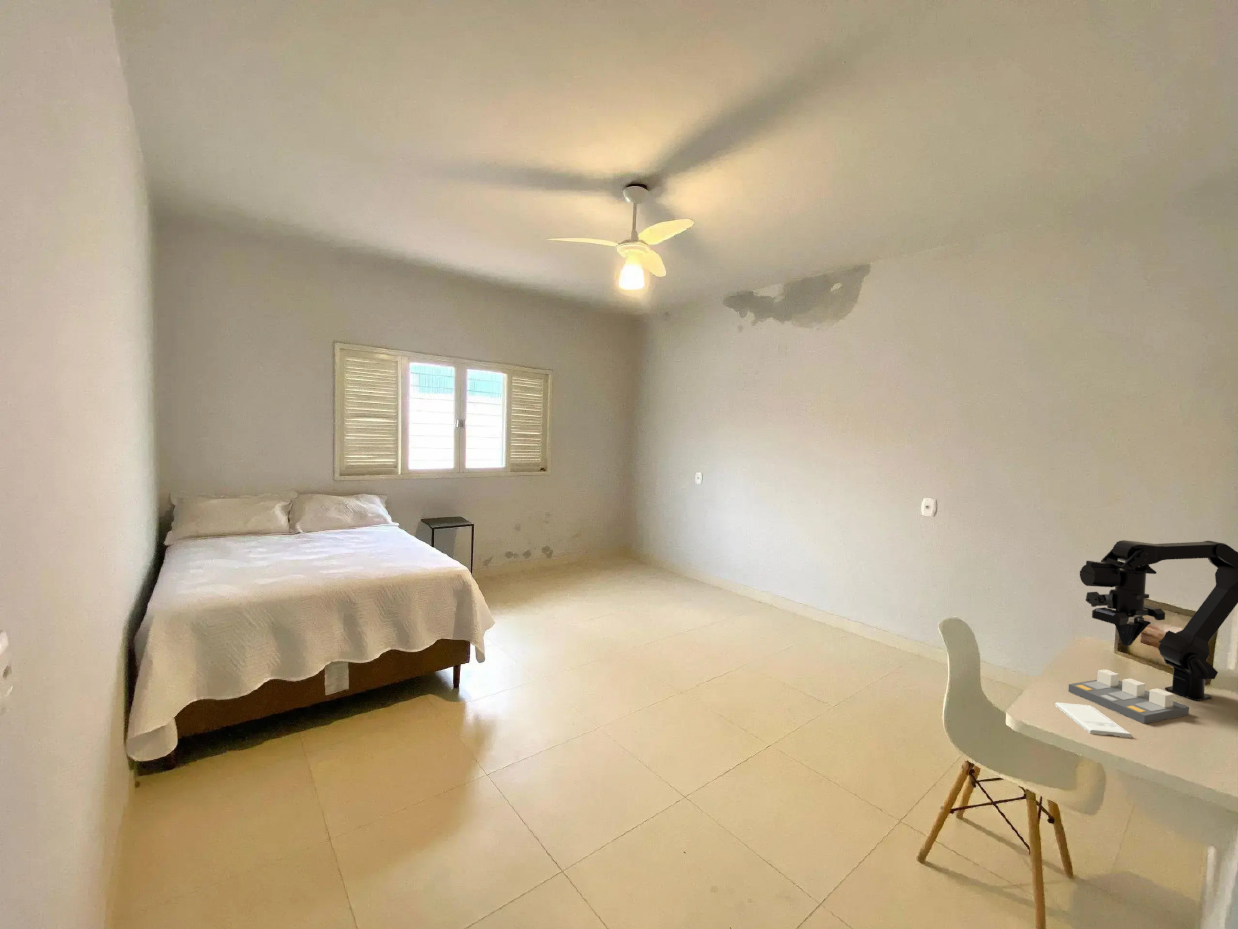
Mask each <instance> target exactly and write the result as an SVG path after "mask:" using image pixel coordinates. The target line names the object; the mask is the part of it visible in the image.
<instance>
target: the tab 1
mask: <svg viewBox="0 0 1238 929" xmlns="http://www.w3.org/2000/svg"><path fill="white" fill-rule="evenodd" d="M1096 677H1097V678H1096V680H1097V681H1098V682H1100V683H1103V684H1105V685H1108V686H1116V685H1118V682H1119V681H1120V680H1119V678H1120V673H1117V672H1113V671H1111V670H1109V669H1106V668H1105V669H1100V670H1097V676H1096Z"/></svg>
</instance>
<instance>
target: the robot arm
mask: <svg viewBox="0 0 1238 929" xmlns="http://www.w3.org/2000/svg"><path fill="white" fill-rule="evenodd" d="M1187 559H1188V560H1190V559H1191V560H1192V559H1207V560H1208V561H1209V563H1210V564H1212V565H1213V566H1214V567H1216V571H1215V574H1214V578H1215V586H1214V588H1212V590H1211V592H1210V593H1209V594H1208V595H1207V597H1206V598H1205V599H1204V601H1203V602H1202V604H1201V605H1200V606H1199V607H1198V609H1197V610H1196V612H1195V613H1194V614H1193V615H1192V616H1191V618H1190V619H1189V621H1188V622H1187V623H1186V625H1185V626H1184V627H1183V629H1181V630H1179V631H1176V632H1174V631H1172V630H1167V631H1166V632H1165V634H1164V636H1163V638H1162V639H1160V640H1158V643H1159V646H1158V648H1157V649H1158V651H1159V654H1160V656H1161V657H1162V658H1163V660H1164V663H1165V665H1168V666H1169V667H1172V668H1173V669H1172V685H1171V686H1165V687H1164V691H1167V692H1169V693H1172V694H1176V695H1179V696H1182V697H1185V698H1188V699H1190V700H1193V701H1197V702H1198V701H1203V700H1208V699H1212V698H1213V696H1212V695H1210V694H1207V693H1205V691H1206V690H1205V688H1206V681H1208V680H1215V679H1216V678H1217V675H1218V673H1219V672H1218V671H1217V670H1216V669H1215V668H1214V667H1213V666H1212V665H1211V663H1209V662H1208V661H1207V660H1208V658H1209V656H1210V647H1209V646H1210V645H1209V643H1210V641H1211V639H1212V638H1213V637H1214V636H1215V634H1216V633H1217V631H1218V630H1219V628H1221V626H1222V625H1223V624H1224V622H1225V620H1227V618H1228V617H1229V616H1230V615H1231V613H1232V611H1234V609H1235V607H1236V606H1237V605H1238V551H1237V550H1235V549H1234V548H1232V547H1231V546H1230V545H1228V544H1226V543H1224V542H1219V541H1213V540H1203V541H1192V542H1189V541H1187V542H1167V543H1164V542H1163V543H1150V542H1144V541H1143V542H1141V541H1135V540H1127V539H1126V540H1124V539H1123V540H1119V541H1116V543H1115V544H1113V547H1112V549H1110V551H1109V552H1108V553H1106V555H1105V556H1104V557H1103V558H1102V559H1101V560H1100V561H1094V560H1086V561H1085V564H1084V565H1083V566H1082V567H1081V568H1080V570H1079V578H1080V580H1081V582H1082V583H1083V585H1084V586H1087V587H1100V588H1102V587H1103V588H1112V589H1110V590H1109V592H1108V593H1103V594H1102V593H1101V594H1100V593H1099V592H1098V591H1087V593H1086V596H1085V602H1087V603H1088V604H1090V606H1091V607H1092V608H1094V609H1092V610H1091V618H1092V619H1094V620H1098V621H1100V622H1101V621H1102V622H1105V623H1108V624H1112V625H1114V627H1115V628H1116V630H1117V634H1118V635H1119V639H1120V642H1121V643H1122V645H1123V646H1126V647H1128V646H1132V644H1133V643H1134V642H1135V640H1136V639H1137V638H1138V637H1139V636H1140V635H1141V633H1142V632H1143V631H1145V629H1146V628H1147V627H1148V626H1149V625H1151V622H1150V621H1148V620H1145V618H1144V616H1146V617H1147V616H1149V617H1152V618H1154V620H1156V621H1165V619H1166V612H1165V611H1164V610H1163V609H1162V608H1160V607H1157V606H1151V605H1148V604H1145V599H1150V594H1148V593H1146V584H1147V582H1146V581H1147V574H1148V575H1149V574H1151V575H1156V574H1157V571H1156V570H1155V569H1154V568H1152V567H1151V566H1150V565H1153V564H1155V565H1156V564H1157V563H1159V562H1162V561H1168V560H1187ZM1101 606H1102V607H1101ZM1095 607H1096V608H1095ZM1097 607H1098V608H1097Z"/></svg>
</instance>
